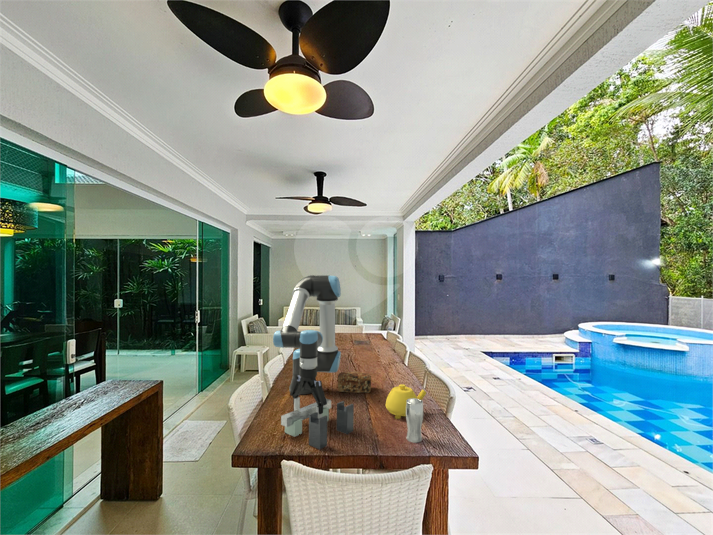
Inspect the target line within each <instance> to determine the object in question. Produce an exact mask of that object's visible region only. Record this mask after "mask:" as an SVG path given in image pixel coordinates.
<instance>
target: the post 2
mask: <svg viewBox="0 0 713 535" xmlns="http://www.w3.org/2000/svg"><path fill="white" fill-rule="evenodd" d="M354 405H355V404H354V403H350V404H348V405H346V406H345V400H342V401H339V402H337V403H336V432H339V433H342V434H345V435H349V434H350V433H352V432H354V413H355V411H354V409H355V408H354Z"/></svg>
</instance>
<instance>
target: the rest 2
mask: <svg viewBox="0 0 713 535" xmlns="http://www.w3.org/2000/svg"><path fill="white" fill-rule="evenodd" d="M329 411H330V409H329V408H328V407H327V408H325V409H323V413H322V417H324V416H327V422H329V421H330V419H329V416H330V414H329V413H330V412H329Z"/></svg>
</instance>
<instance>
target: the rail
mask: <svg viewBox="0 0 713 535" xmlns="http://www.w3.org/2000/svg"><path fill="white" fill-rule="evenodd" d="M326 401H327V404H326V405H324V406H323V409H325V408H327V407H328V408H329V410H330V409H332V399H328V398H326ZM316 406H318V405H317V402H316V401H315V402H313V403H310V404H308V405H305V406H303V407H300V409H298V410H295V411H294V410H293V411H290V412H288V413H284V414H282V415H280V417H281V418H280V425H281V426H282V427H284V428H285V427H288V426H291V425H293V422H295V421H297V420H299V419H302V421H304V420H306V419H309V415H311V414H313V413H316Z"/></svg>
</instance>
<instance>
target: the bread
mask: <svg viewBox="0 0 713 535" xmlns="http://www.w3.org/2000/svg"><path fill="white" fill-rule="evenodd" d="M371 390H372V376H371V374H370V373H366V372H361V371H348V372H347V371H342V372H339V373H338V376H337V392H340V393H342V392H344V393H352V394H353V393H354V394H355V393H357V394H358V393H359V394H361V393H368V394H369V393H370V392H371Z"/></svg>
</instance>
